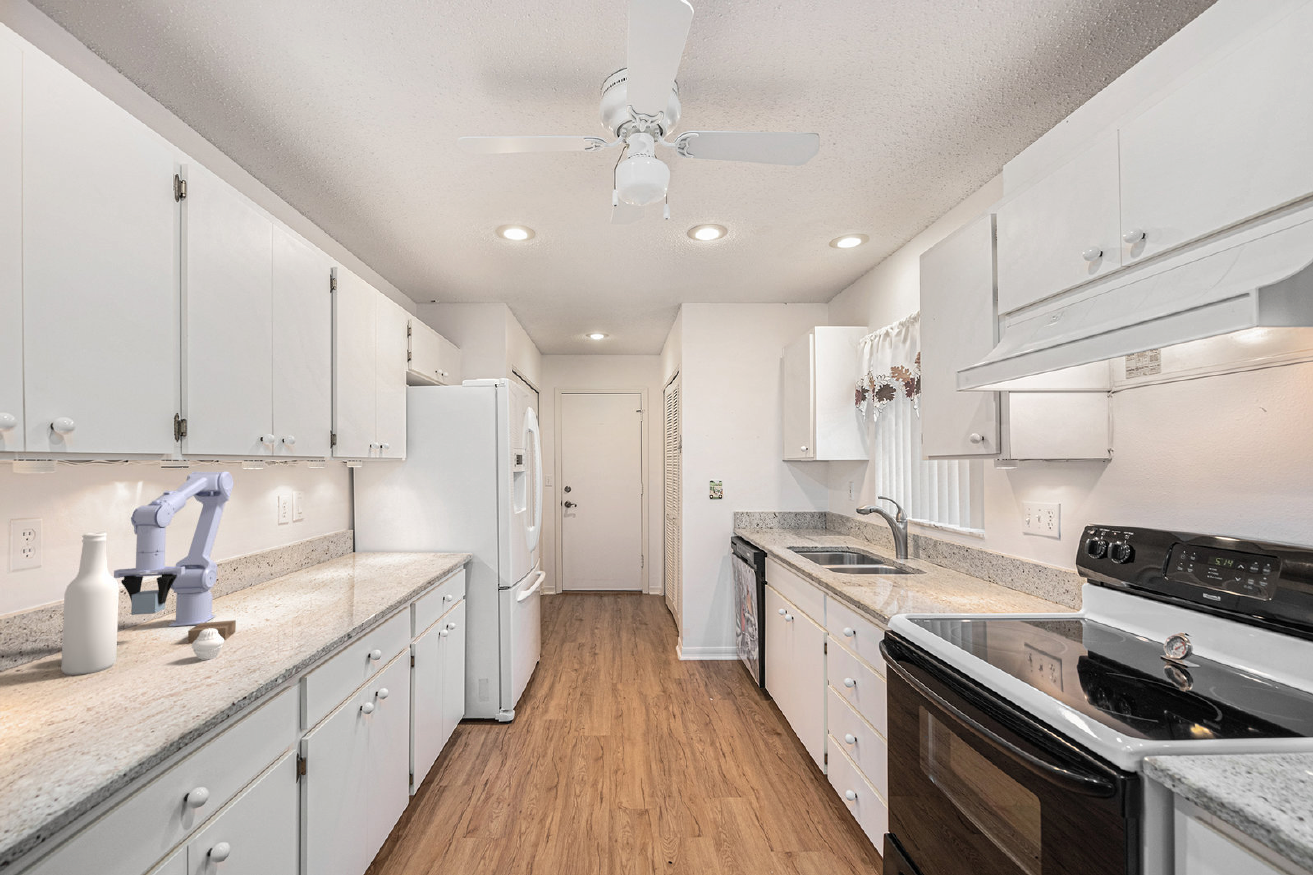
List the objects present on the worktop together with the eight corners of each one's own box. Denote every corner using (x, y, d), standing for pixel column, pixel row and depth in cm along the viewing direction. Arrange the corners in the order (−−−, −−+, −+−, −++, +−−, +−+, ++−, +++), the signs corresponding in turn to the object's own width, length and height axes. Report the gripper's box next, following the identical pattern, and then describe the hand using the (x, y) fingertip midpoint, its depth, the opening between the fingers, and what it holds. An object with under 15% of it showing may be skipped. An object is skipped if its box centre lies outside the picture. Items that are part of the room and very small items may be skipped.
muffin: (230, 654, 141) (231, 625, 141) (207, 663, 135) (208, 632, 135) (208, 653, 142) (209, 623, 142) (184, 661, 136) (185, 631, 136)
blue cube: (141, 610, 154) (142, 590, 154) (164, 608, 155) (165, 589, 156) (131, 614, 149) (131, 595, 149) (155, 613, 151) (155, 593, 151)
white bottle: (124, 665, 133) (130, 532, 135) (74, 678, 125) (80, 536, 126) (102, 660, 137) (107, 530, 138) (52, 673, 128) (58, 534, 130)
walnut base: (199, 636, 157) (200, 623, 157) (235, 633, 160) (235, 620, 160) (187, 644, 149) (188, 630, 150) (225, 641, 152) (225, 627, 152)
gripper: (107, 555, 147) (105, 610, 147) (176, 552, 151) (174, 605, 151) (123, 551, 154) (121, 603, 153) (189, 548, 158) (187, 599, 158)
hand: (149, 604), depth 153 cm, fingers closed on blue cube, 5 cm apart
